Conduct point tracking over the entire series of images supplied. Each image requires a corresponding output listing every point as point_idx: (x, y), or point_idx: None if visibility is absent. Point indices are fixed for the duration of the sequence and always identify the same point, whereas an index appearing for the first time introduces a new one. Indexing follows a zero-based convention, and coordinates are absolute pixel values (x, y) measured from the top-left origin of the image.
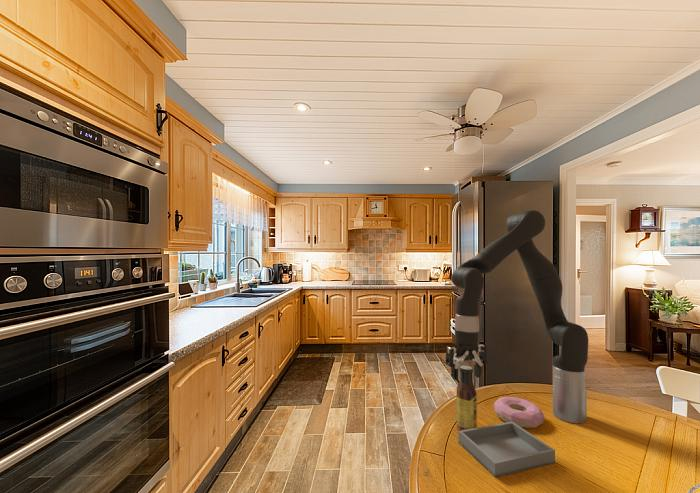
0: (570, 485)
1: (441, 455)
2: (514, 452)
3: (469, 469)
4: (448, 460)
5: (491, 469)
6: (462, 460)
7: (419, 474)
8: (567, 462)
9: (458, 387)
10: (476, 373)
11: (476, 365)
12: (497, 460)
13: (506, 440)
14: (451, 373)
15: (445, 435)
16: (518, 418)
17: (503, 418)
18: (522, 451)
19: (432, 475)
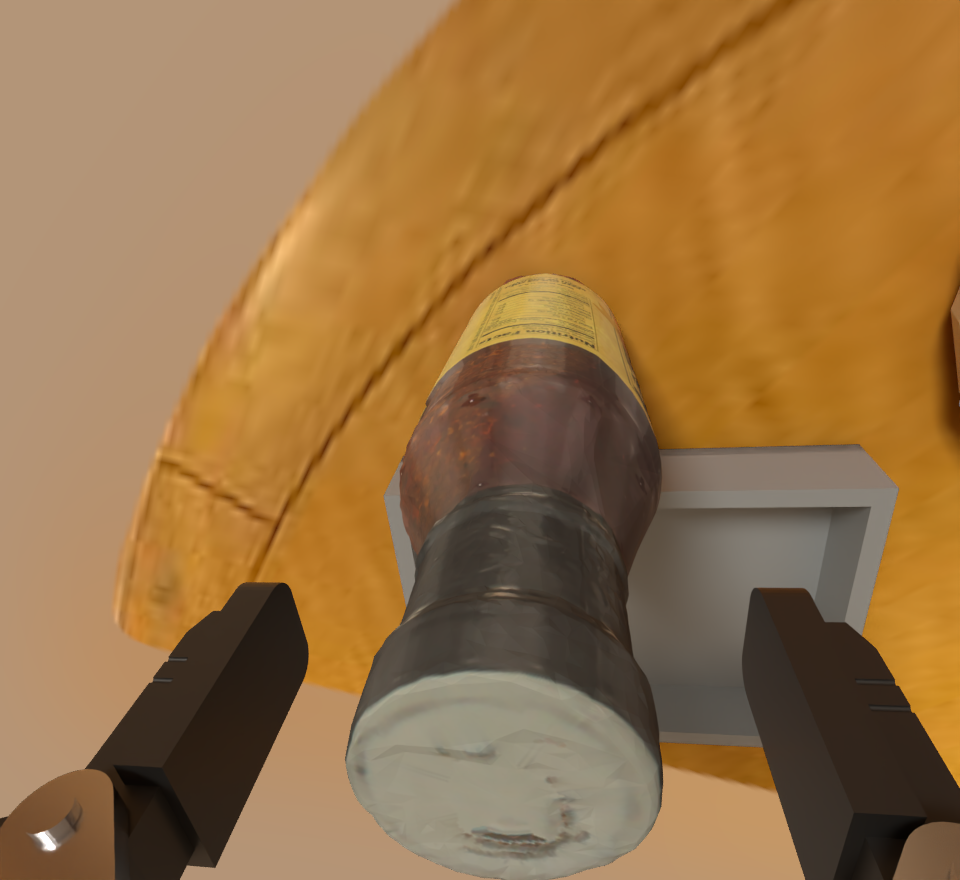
0: (721, 772)
1: (263, 521)
2: (658, 613)
3: (359, 621)
4: (286, 557)
5: None
6: (355, 572)
7: (133, 592)
8: None
9: (401, 505)
10: (767, 679)
11: (845, 863)
12: None
13: (711, 526)
14: (167, 672)
15: (353, 372)
16: None
17: (955, 326)
18: (712, 618)
19: (186, 609)
